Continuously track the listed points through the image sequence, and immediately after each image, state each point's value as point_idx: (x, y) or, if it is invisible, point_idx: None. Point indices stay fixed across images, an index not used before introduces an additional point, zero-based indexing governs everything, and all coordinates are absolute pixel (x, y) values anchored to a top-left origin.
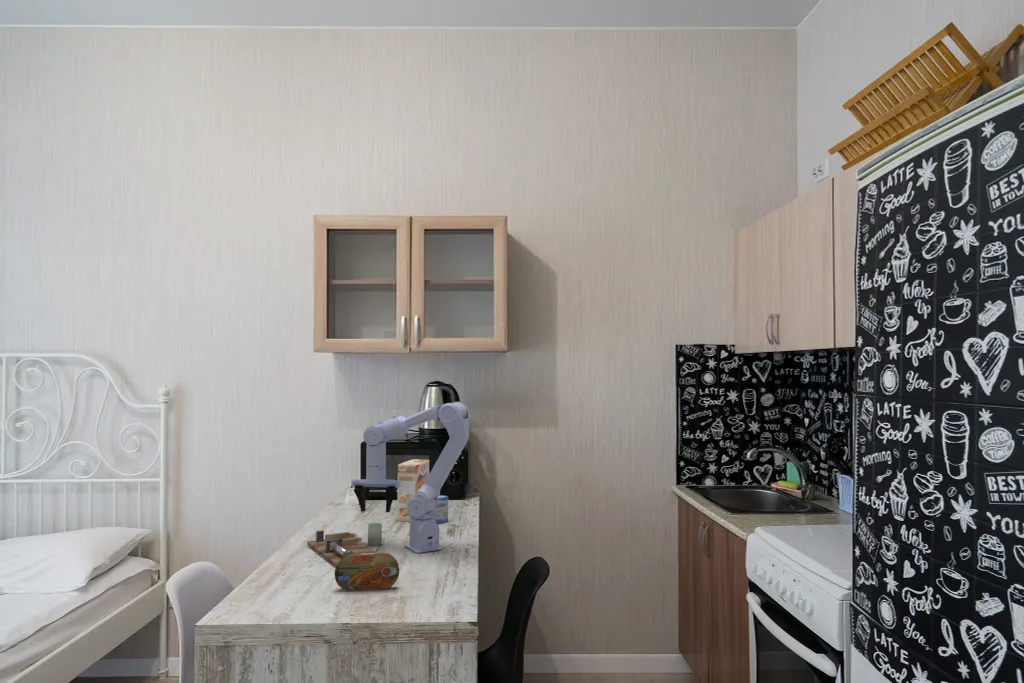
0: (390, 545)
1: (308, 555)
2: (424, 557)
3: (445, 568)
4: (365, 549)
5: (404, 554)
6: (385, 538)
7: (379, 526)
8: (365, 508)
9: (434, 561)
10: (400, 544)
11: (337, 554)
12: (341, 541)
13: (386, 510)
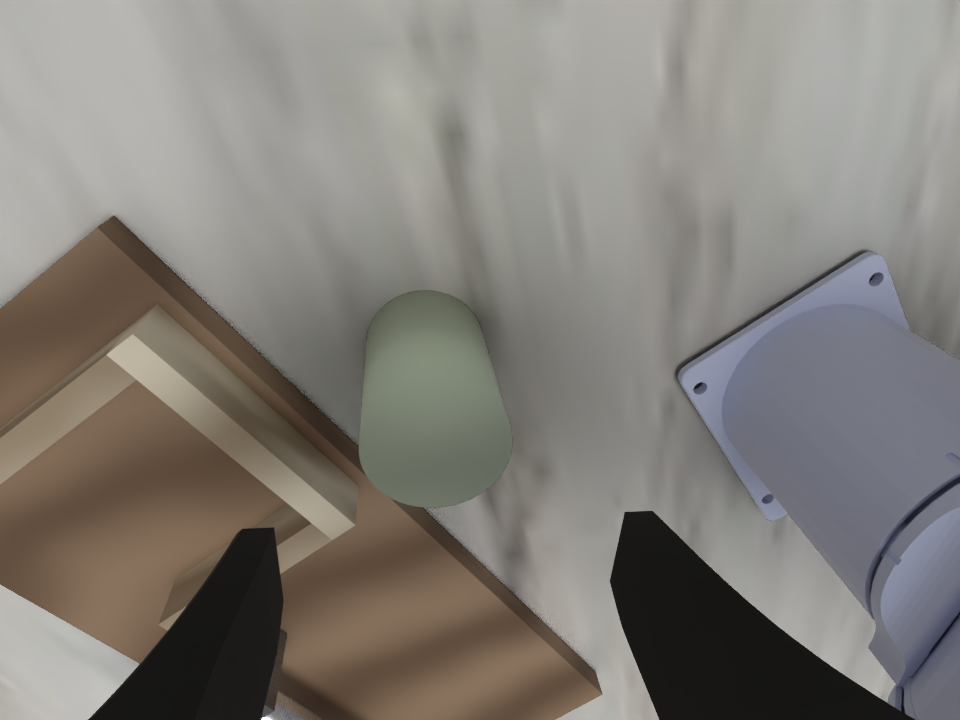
0: (561, 350)
1: (65, 644)
2: (800, 565)
3: (878, 682)
4: (435, 585)
5: (685, 535)
6: (462, 101)
7: (496, 470)
8: (268, 542)
9: (844, 612)
10: (639, 311)
11: (297, 692)
12: (273, 696)
13: (624, 608)
